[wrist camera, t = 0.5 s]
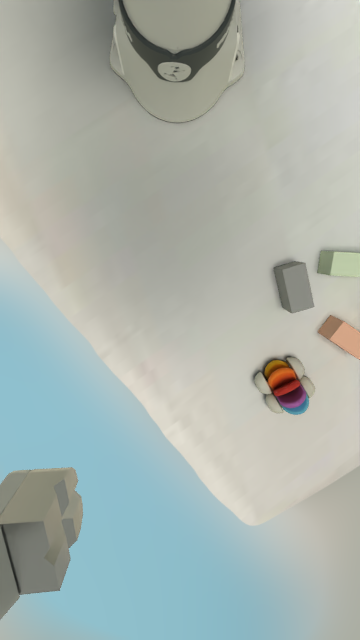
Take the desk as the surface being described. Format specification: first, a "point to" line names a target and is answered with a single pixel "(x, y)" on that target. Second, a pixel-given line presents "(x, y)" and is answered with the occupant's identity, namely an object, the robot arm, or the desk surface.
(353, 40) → the desk surface
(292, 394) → the multicolored fanned-prong toy
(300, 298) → the charcoal brick
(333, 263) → the sage brick
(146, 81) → the robot arm
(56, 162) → the desk surface
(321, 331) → the terracotta brick
